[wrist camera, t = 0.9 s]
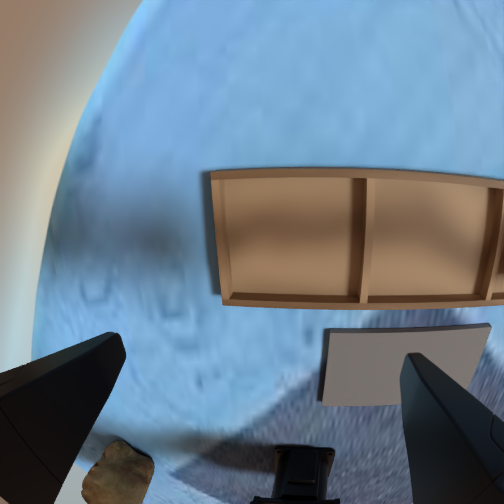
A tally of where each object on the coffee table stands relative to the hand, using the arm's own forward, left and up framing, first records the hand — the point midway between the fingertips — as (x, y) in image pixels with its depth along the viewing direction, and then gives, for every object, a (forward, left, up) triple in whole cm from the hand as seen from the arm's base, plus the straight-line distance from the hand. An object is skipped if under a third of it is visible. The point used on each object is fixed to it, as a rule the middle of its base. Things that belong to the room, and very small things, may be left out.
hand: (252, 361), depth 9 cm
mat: (-11, -10, -12) cm, 19 cm away
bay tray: (0, -10, -12) cm, 16 cm away
